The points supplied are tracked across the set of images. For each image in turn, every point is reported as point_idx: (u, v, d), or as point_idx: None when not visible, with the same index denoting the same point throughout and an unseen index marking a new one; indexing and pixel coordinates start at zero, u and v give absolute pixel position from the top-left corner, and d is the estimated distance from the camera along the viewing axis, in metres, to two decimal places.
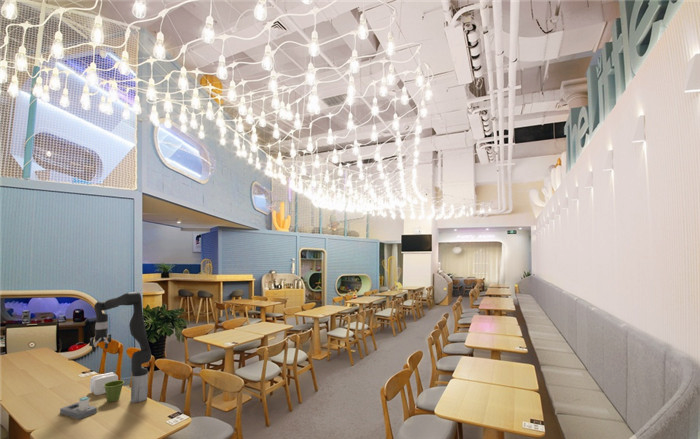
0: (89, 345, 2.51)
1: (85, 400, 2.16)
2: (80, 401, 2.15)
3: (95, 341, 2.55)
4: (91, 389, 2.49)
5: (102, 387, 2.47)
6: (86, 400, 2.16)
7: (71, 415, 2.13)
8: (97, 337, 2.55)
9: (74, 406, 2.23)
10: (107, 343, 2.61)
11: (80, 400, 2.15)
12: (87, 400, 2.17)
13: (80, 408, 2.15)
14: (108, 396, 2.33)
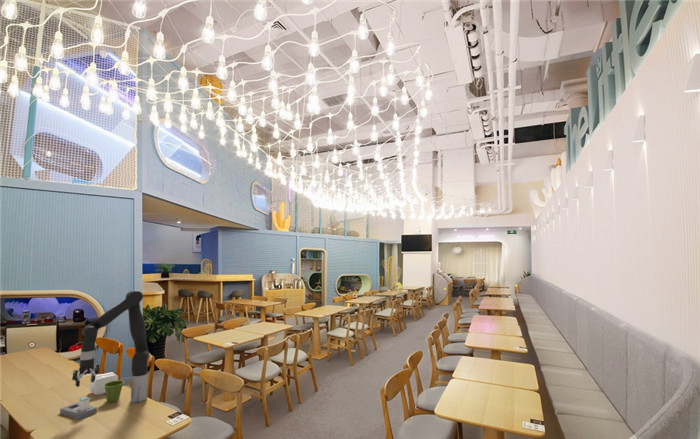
0: (72, 379, 2.12)
1: (85, 400, 2.16)
2: (80, 401, 2.15)
3: (80, 374, 2.16)
4: (91, 389, 2.49)
5: (102, 387, 2.47)
6: (86, 400, 2.16)
7: (71, 415, 2.13)
8: (82, 369, 2.16)
9: (74, 406, 2.23)
10: (94, 375, 2.22)
11: (80, 400, 2.15)
12: (87, 400, 2.17)
13: (80, 408, 2.15)
14: (108, 396, 2.33)
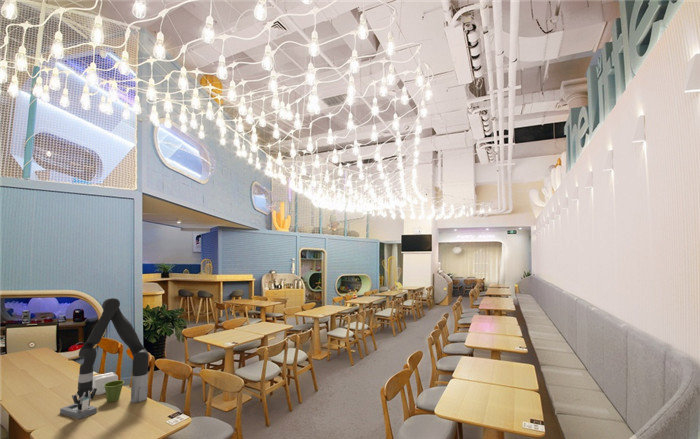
0: None
1: (85, 400, 2.16)
2: None
3: None
4: None
5: (102, 387, 2.47)
6: (86, 400, 2.16)
7: (71, 415, 2.13)
8: (80, 392, 2.14)
9: (74, 406, 2.23)
10: (89, 400, 2.18)
11: None
12: (87, 400, 2.17)
13: None
14: (108, 396, 2.33)
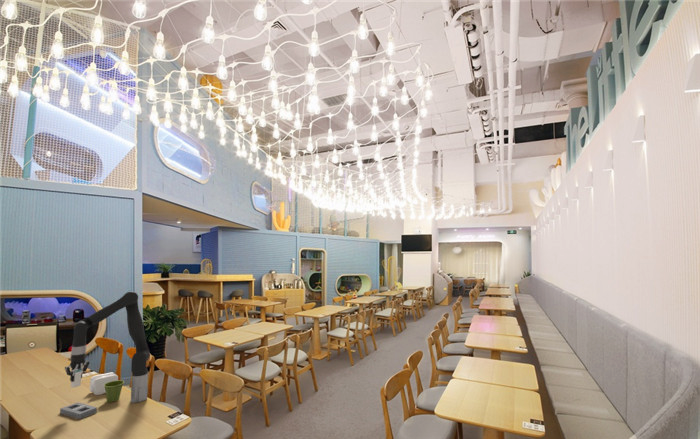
0: (67, 374, 2.17)
1: (78, 372, 2.21)
2: None
3: None
4: (90, 389, 2.49)
5: (102, 387, 2.47)
6: (79, 372, 2.21)
7: (71, 415, 2.13)
8: (73, 364, 2.19)
9: (74, 406, 2.23)
10: (81, 373, 2.23)
11: None
12: (80, 372, 2.22)
13: None
14: (108, 396, 2.33)
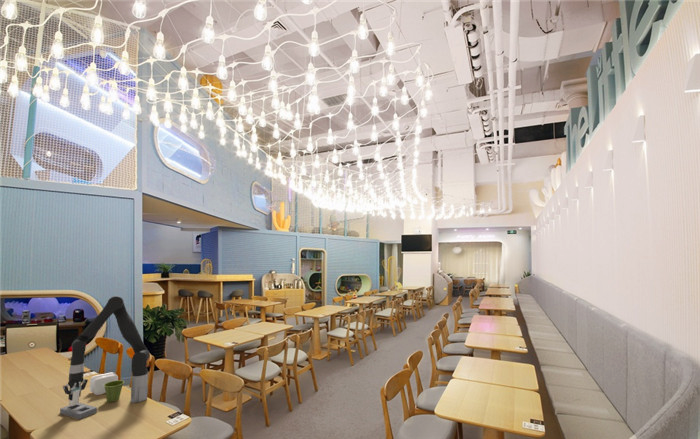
0: (65, 393, 2.17)
1: (76, 390, 2.20)
2: None
3: None
4: (91, 389, 2.49)
5: (102, 387, 2.47)
6: (77, 391, 2.21)
7: (71, 415, 2.13)
8: (71, 382, 2.18)
9: (74, 406, 2.23)
10: None
11: None
12: (78, 391, 2.21)
13: None
14: (108, 396, 2.33)
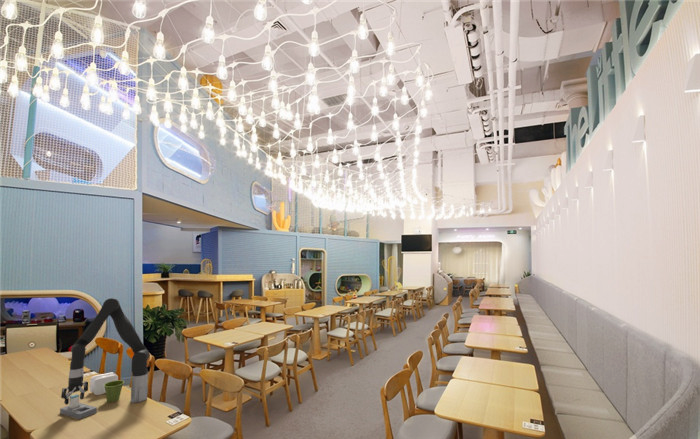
0: (61, 397, 2.15)
1: (75, 397, 2.20)
2: (70, 398, 2.19)
3: (69, 391, 2.19)
4: (91, 389, 2.49)
5: (102, 387, 2.47)
6: (76, 397, 2.20)
7: (71, 415, 2.13)
8: (71, 387, 2.18)
9: None
10: (83, 393, 2.24)
11: (70, 397, 2.19)
12: (77, 397, 2.21)
13: (70, 405, 2.19)
14: (108, 396, 2.33)
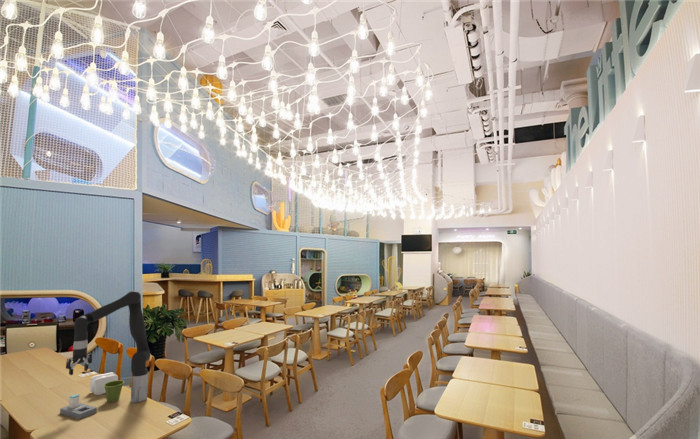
0: (66, 368, 2.19)
1: (75, 397, 2.20)
2: (70, 398, 2.19)
3: (73, 363, 2.23)
4: (91, 389, 2.49)
5: (102, 387, 2.47)
6: (76, 397, 2.20)
7: (71, 415, 2.13)
8: (75, 358, 2.22)
9: None
10: (87, 364, 2.29)
11: (70, 397, 2.19)
12: (77, 397, 2.21)
13: (70, 405, 2.19)
14: (108, 396, 2.33)
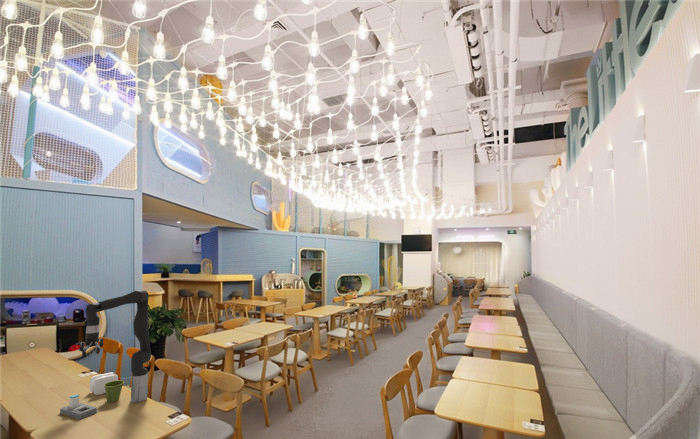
0: (79, 350, 2.34)
1: (75, 397, 2.20)
2: (70, 398, 2.19)
3: (86, 346, 2.38)
4: (91, 389, 2.49)
5: (102, 387, 2.47)
6: (76, 397, 2.20)
7: (71, 415, 2.13)
8: (88, 341, 2.37)
9: None
10: (99, 348, 2.44)
11: (70, 397, 2.19)
12: (77, 398, 2.21)
13: (70, 405, 2.19)
14: (108, 396, 2.33)
